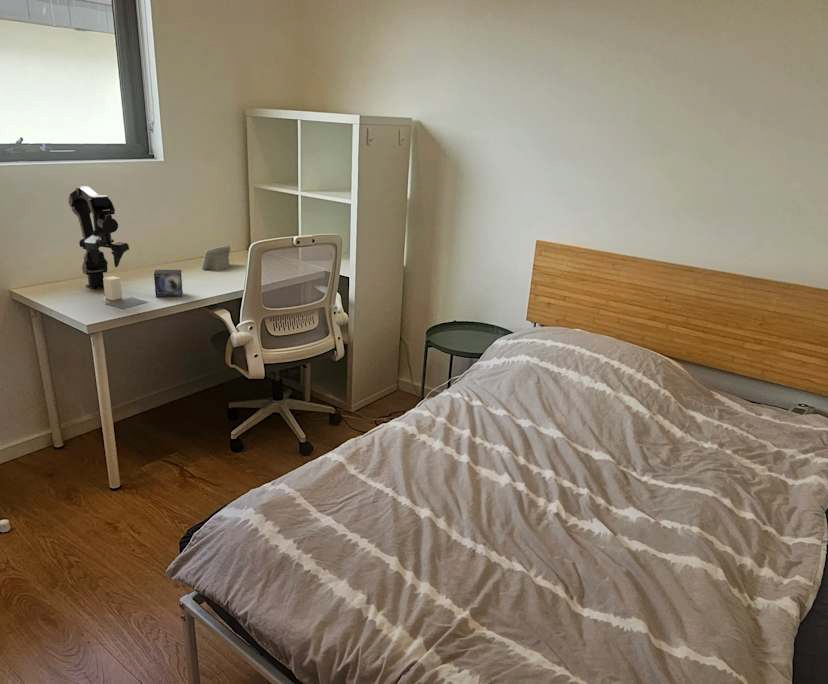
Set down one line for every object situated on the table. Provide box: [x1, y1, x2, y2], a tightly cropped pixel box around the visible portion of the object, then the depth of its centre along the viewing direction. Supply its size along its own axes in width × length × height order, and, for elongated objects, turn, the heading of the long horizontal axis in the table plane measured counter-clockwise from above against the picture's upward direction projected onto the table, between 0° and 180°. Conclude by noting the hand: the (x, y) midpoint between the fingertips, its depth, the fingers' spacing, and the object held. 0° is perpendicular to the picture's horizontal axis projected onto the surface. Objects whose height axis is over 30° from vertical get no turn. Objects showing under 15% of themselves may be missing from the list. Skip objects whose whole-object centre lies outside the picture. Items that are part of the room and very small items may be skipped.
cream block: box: [103, 275, 123, 302], centre depth 247 cm, size 4×4×9 cm
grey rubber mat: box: [105, 296, 148, 310], centre depth 245 cm, size 10×12×1 cm
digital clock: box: [201, 245, 231, 272], centre depth 303 cm, size 16×9×11 cm, turn 141°
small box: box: [153, 269, 184, 298], centre depth 257 cm, size 11×6×10 cm, turn 106°
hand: (106, 265), depth 248 cm, fingers open, 9 cm apart
